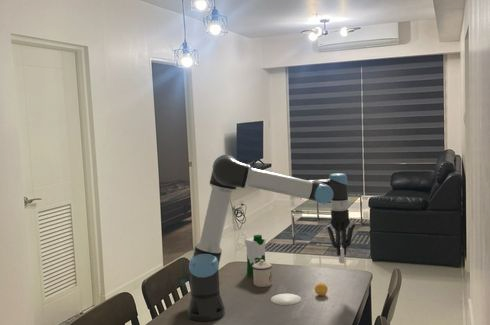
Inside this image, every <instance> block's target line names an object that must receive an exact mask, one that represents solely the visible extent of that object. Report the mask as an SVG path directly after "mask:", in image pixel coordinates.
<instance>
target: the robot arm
mask: <svg viewBox="0 0 490 325" xmlns="http://www.w3.org/2000/svg"><path fill="white" fill-rule="evenodd" d="M328 177H329V178H326V179H325V178H324V179H309V180H307V179H302V178H298V177H294V176H290V175H286V174H285V175H284V174H281V173H276V172H270V171H267V170H262V169H258V168H253V167H252V166H251V165H250V164H247V163H243V162H240V161H239V160H238V159H237V158H236V157H235V156H233V155H230V154H222V155H220V156H218V157H217V158H216V159H214V162H213V164H212V171H211V175H210V180H209V185H210V187H211V191H210V195H209V200H208V204H207V210H206V213H205V218H204V221H203V222H204V223H203V227H202V232H201V236H200V240H199V242H198V243H196V244H195V247H194V249H193V250H194V251H193V256H192V257H191V258H190V259H189V263H188V271H189V282H190V285H189V286H190V299H189V304H188V308H187V317H188V318H189V319H190V320H192V321H195V322H211V321H216V320H219V319H221V318H222V317H223V316H225V315H226V307H225V305H224V302H223V299H222V297H221V294H220V293H221V292H220V291H221V290H220V275H219V274H220V272H219V268H220V266H219V265H220V261H221V256H222V253H223V250H222V249H221V246H220V245H221V241H222V237H223V233H224V228H225V224H226V219H227V215H228V211H229V206H230V201H231V198H232V193H234V192H235V191H237V188H241V189H245V188H247V187H250V188H252V189H257V190H258V189H260V190H263V191H266V192H267V191H268V192H273V193H277V194H281V195H282V194H283V195H286V196H290V197H296V198H301V199H304V200H310V201H312V202H313V201H314V202H317V203H318V204H323V205H326V204H329V203H330V209H331V210H330V217H331V220H330V224H328V225H325V229H326V230H327V233H328V236H329V239H330V243H331V246H332V247H333V248H336V256H338V263H340V264H342V265H343V264H345V256H346V254H347V248H348V247H350V246H351V244H352V243H351V242H352V237H353V232H354V229H355V227H356V224H355V223H352V222H351V220H350V218H349V217H350V216H349V215H350V212H349V188H348V186H349V182H348V176H347V174H345V173H342V172H341V173H340V172H339V173H338V172H337V173H331V174H329V176H328ZM347 228H348V229H347ZM333 229H334V232H335V235H334V232H333Z"/></svg>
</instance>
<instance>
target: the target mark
mask: <svg viewBox="0 0 490 325" xmlns="http://www.w3.org/2000/svg"><path fill="white" fill-rule="evenodd" d="M270 301H271V303H273V304H275V305H279V306H292V305H296V304H298V303H300V302H301V301H302V297H301V296H300V295H299V294H298V295H297V294H294V293H280V294H276V295H273V296H272V297H271V298H270Z"/></svg>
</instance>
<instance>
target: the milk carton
mask: <svg viewBox="0 0 490 325" xmlns="http://www.w3.org/2000/svg"><path fill="white" fill-rule="evenodd" d="M266 240H267V239H266V238H263V236H262V234H256V235H255V234H254V235H253V237H249V238H246V239H244V243H245V247H246V266H247V267H246V275H248V276H251V277H253V265H254V264H256V263H258V262H260V260H264V262H266V249H265V248H266V242H267V241H266Z"/></svg>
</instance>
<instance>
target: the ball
mask: <svg viewBox="0 0 490 325" xmlns="http://www.w3.org/2000/svg"><path fill="white" fill-rule="evenodd" d="M314 292H315V294H317V295H318V296H320V297H321V296H322V297H323V296H325V295H326V294H327V293H328V286H327V284H326V283H323V282H319V283H317V284H316V285H315V287H314Z"/></svg>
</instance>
